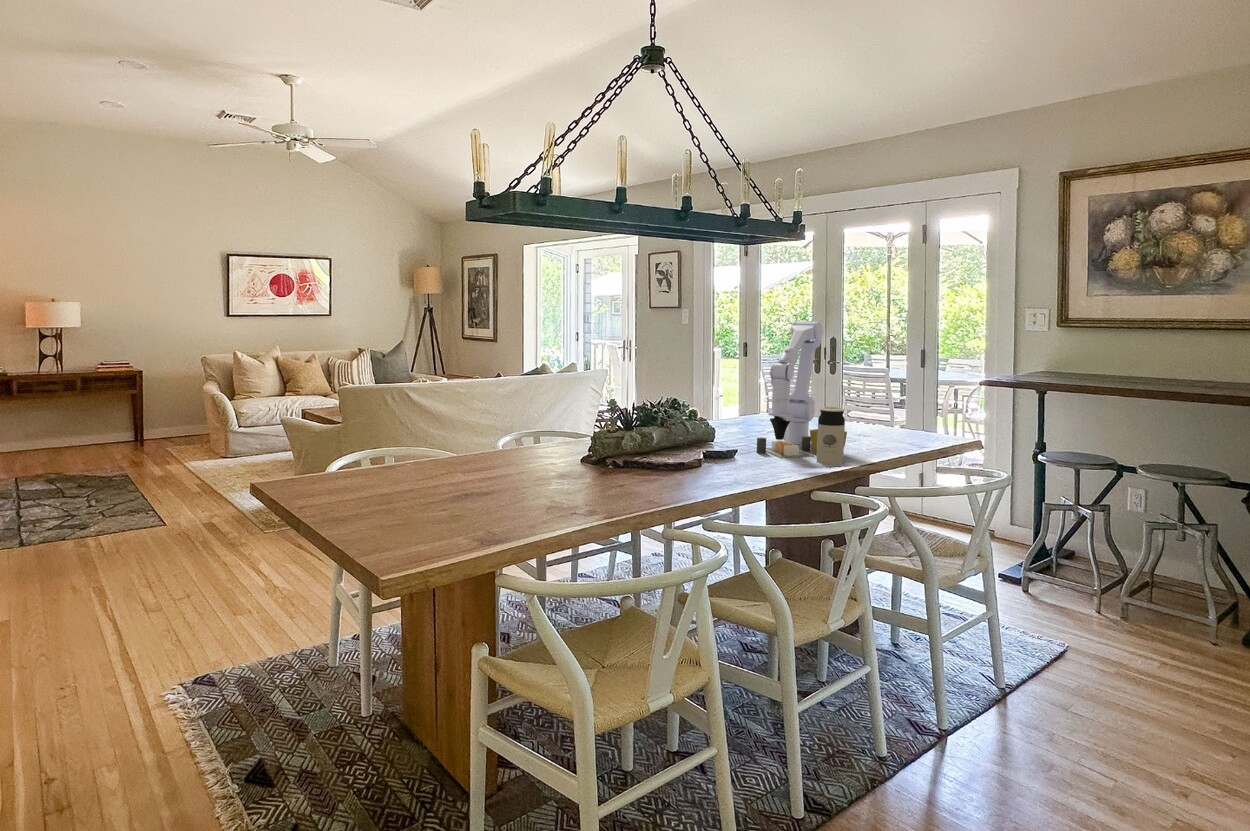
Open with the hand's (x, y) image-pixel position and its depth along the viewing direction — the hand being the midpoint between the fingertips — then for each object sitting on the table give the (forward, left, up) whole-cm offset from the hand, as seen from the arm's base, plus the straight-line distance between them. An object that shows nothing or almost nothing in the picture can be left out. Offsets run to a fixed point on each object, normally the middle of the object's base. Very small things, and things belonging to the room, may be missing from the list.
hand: (779, 439), depth 266 cm
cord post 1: (+4, -8, -5) cm, 10 cm away
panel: (+5, 0, -5) cm, 7 cm away
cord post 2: (+4, +8, -5) cm, 10 cm away
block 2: (+5, 0, -3) cm, 6 cm away
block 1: (0, 0, -3) cm, 3 cm away
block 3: (+9, 0, -3) cm, 10 cm away
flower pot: (+10, +13, -5) cm, 17 cm away
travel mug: (+23, +7, -5) cm, 24 cm away
